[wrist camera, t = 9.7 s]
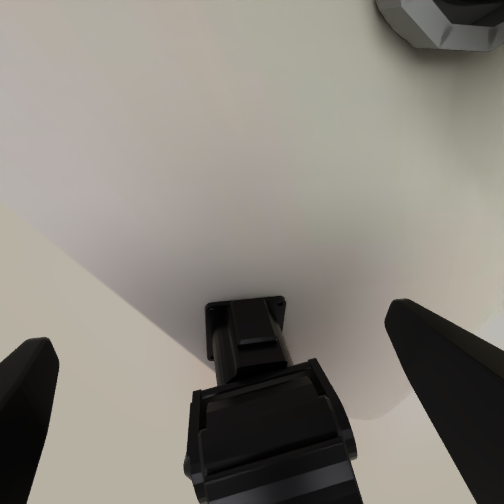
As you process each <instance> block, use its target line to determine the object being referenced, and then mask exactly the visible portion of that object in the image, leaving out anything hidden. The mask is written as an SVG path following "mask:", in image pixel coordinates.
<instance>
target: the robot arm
mask: <svg viewBox="0 0 504 504" xmlns="http://www.w3.org/2000/svg"><path fill="white" fill-rule="evenodd" d="M278 302H280V303H278ZM285 308H286V301H285V298H284V297H282V296H275V297H265V298H255V299H244V300H234V301H223V302H213V303H208V304H207V305H206V306H205V319H206V343H207V358H208V360H209V361H214V362H215V370H216V378H217V387H213V388H209V389H206V390H197V391H193V397H192V403H191V404H190V417H189V428H188V442H187V452H186V456H185V460H184V473H185V475H186V476H187V477H188V478H189V479H191V480H192V483H193V486H194V489H195V493H196V496H197V499H198V501H199V503H200V504H363V501H362V498H361V495H360V491H359V488H358V484H357V481H356V478H355V474H354V471H353V468H352V465H351V460H354V459H356V458H357V448H356V443H355V439H354V436H353V432H352V429H351V426H350V423H349V420H348V417H347V415H346V412H345V410H344V408H343V405H342V403H341V401H340V399H339V397H338V396H337V394H336V392H335V390H334V389H333V387H332V385H331V384H330V382H329V380H328V378H327V377H326V375H325V373H324V371H323V370H322V368H321V366H320V364H319V363H318V361H317V359H316V358H313V359H309V360H308V361H307V362H304V363H300V364H296V365H293V362H292V359H291V357H290V354H289V351H288V348H287V345H286V343H285V340H284V337H283V334H282V329H283V322H284V315H285ZM210 309H213V310H210ZM384 323H385V328H386V331H387V333H388V335H389V338H390V340H391V342H392V345H393V347H394V349H395V351H396V354H397V356H398V358H399V361H400V363H401V365H402V368H403V370H404V372H405V374H406V376H407V378H408V380H409V382H410V384H411V386H412V387H413V389H414V391H415V393H416V395H417V396H418V398H419V400H420V401H421V403H422V405H423V407H424V409H425V411H426V412H427V414H428V416H429V418H430V420H431V422H432V423H433V425H434V427H435V429H436V431H437V432H438V434H439V436H440V438H441V439H442V441H443V443H444V445H445V447H446V449H447V450H448V452H449V454H450V456H451V458H452V459H453V461H454V463H455V465H456V467H457V468H458V470H459V472H460V474H461V476H462V477H463V479H464V481H465V483H466V484H467V486H468V488H469V490H470V492H471V494H472V495H473V497H474V499H475V501H476V503H477V504H504V351H503V350H501V349H499V348H498V347H496V346H494V345H492V344H490V343H488V342H487V341H484V340H483V339H481V338H479V337H477V336H476V335H474V334H472V333H470V332H468V331H466V330H465V329H463V328H461V327H459V326H457V325H455V324H454V323H452V322H450V321H448V320H446V319H444V318H443V317H441V316H439V315H437V314H435V313H434V312H432V311H430V310H428V309H426V308H424V307H423V306H421V305H419V304H417V303H415V302H413V301H412V300H410V299H406V298H404V299H395V300H393V301H392V302H391V304H390V307H389V309H388V312H387V315H386V317H385V321H384ZM58 372H59V359H58V357H57V355H56V352H55V350H54V348H53V345H52V343H51V341H50V339H49V338H47V337H41V338H32V339H28V340H26V341H25V342H23V343H22V344H21V345H20V346H19V347H18V348H17V349H15V350H14V351H13V352H12V353H11V354H10V355H9V356H8V357H6V358H5V359H4V360H3V361H2V362H1V363H0V504H27V500H28V496H29V494H30V490H31V487H32V484H33V480H34V477H35V474H36V470H37V467H38V463H39V460H40V457H41V453H42V450H43V447H44V443H45V439H46V436H47V432H48V427H49V422H50V416H51V411H52V406H53V400H54V394H55V389H56V383H57V377H58Z"/></svg>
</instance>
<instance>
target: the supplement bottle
mask: <svg viewBox="0 0 504 504" xmlns="http://www.w3.org/2000/svg"><path fill="white" fill-rule="evenodd" d="M442 1H444V2H446V3H449V4H451V5H455V6H475V5H485V4H492V3H500V2H504V0H442Z"/></svg>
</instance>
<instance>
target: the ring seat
mask: <svg viewBox="0 0 504 504" xmlns="http://www.w3.org/2000/svg"><path fill="white" fill-rule="evenodd" d="M375 1H376V4H377V6H378V10H379V11H380V12H381V14H382V15H383V17H384V19H385V20H386V21H387V23H388V24H389V25H390V26H391V28H392V29H393V30H394V31H395V32H396V33H397V34H399V35H400V36H401V37H402V38H404V39H405V40H407V41H409V42H410V44H411V45H412V46H413V47H414V48H432V49H449V50H461V51H481V52H490V51H491V50H493V49H495V48H496V47H498V46H500V45H502V44H503V43H504V2H500V3H492V4H485V5H475V6H455V5H451V4H449V3H446V2H444V1H442V0H375Z"/></svg>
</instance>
